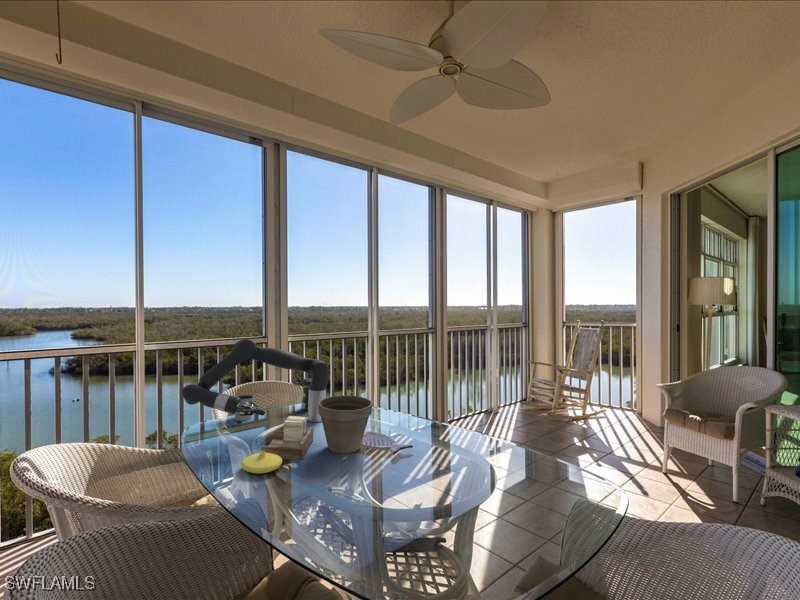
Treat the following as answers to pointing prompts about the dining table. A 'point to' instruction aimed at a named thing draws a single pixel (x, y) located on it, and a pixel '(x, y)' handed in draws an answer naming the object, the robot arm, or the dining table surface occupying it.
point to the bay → (289, 452)
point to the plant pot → (344, 421)
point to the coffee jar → (306, 393)
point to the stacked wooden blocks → (294, 431)
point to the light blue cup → (247, 399)
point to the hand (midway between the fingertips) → (264, 412)
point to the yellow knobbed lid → (261, 462)
